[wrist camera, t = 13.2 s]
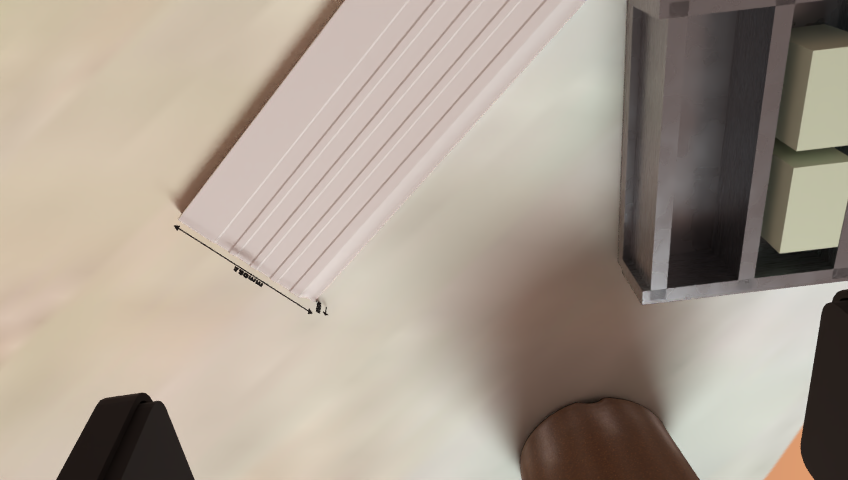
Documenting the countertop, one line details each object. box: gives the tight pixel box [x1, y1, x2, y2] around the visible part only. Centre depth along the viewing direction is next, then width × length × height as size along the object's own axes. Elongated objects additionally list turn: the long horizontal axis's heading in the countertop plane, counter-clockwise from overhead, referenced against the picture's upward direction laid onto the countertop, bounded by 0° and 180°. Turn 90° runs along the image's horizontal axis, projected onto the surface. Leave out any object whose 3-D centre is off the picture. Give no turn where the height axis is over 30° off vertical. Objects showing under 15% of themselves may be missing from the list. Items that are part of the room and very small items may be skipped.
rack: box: [618, 0, 848, 305], centre depth 41 cm, size 18×14×5 cm
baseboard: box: [174, 0, 587, 315], centre depth 40 cm, size 31×3×12 cm
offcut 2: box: [761, 137, 848, 254], centre depth 42 cm, size 6×4×5 cm, turn 6°
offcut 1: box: [775, 24, 848, 151], centre depth 39 cm, size 6×4×5 cm, turn 6°
